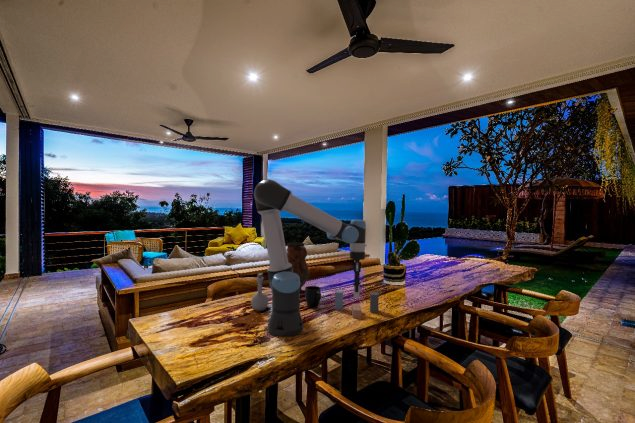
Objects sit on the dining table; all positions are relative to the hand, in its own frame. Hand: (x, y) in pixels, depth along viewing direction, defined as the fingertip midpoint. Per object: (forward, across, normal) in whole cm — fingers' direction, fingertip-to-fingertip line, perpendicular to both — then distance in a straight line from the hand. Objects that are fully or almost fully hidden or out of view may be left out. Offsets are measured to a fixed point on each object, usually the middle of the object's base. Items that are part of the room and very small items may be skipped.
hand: (356, 297), depth 148 cm
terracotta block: (+6, +2, 0) cm, 6 cm away
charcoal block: (+7, +4, -9) cm, 12 cm away
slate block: (+7, +4, +9) cm, 12 cm away
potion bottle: (+8, -3, +49) cm, 50 cm away
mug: (+8, +4, +22) cm, 24 cm away
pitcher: (+8, +27, +36) cm, 46 cm away
